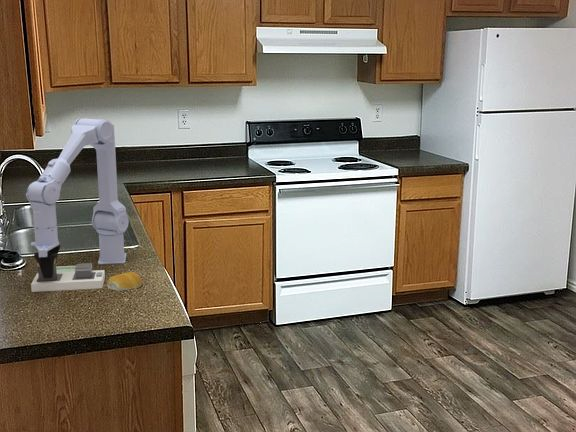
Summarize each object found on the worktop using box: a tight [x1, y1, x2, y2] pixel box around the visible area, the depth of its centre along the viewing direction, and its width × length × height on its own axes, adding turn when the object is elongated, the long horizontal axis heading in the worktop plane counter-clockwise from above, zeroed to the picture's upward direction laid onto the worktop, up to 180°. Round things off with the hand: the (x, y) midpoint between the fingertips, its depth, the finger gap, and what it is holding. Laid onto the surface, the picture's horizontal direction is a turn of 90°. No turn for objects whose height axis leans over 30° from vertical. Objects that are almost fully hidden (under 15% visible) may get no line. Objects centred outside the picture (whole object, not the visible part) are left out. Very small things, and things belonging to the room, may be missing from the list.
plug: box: [36, 258, 57, 282], centre depth 177 cm, size 4×4×7 cm
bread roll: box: [106, 271, 143, 292], centre depth 179 cm, size 8×9×4 cm
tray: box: [56, 265, 76, 272], centre depth 188 cm, size 9×9×1 cm
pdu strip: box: [30, 262, 106, 293], centre depth 179 cm, size 9×18×6 cm, turn 101°
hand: (49, 275), depth 178 cm, fingers closed on plug, 4 cm apart
